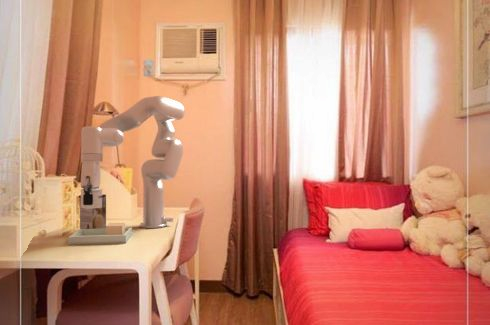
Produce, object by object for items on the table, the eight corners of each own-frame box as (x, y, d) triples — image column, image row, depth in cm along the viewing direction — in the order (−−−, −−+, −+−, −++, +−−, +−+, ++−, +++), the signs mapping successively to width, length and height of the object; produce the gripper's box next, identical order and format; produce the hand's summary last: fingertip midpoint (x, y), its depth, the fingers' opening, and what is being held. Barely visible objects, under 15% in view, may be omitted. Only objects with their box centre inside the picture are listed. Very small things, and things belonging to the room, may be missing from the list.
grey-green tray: (131, 234, 135) (131, 227, 135) (125, 243, 121) (125, 235, 121) (80, 236, 131) (80, 229, 131) (68, 245, 117) (68, 237, 117)
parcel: (125, 235, 131) (125, 222, 131) (122, 238, 125) (122, 225, 125) (109, 235, 129) (109, 223, 129) (105, 239, 124) (105, 226, 124)
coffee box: (93, 229, 144) (93, 193, 144) (106, 230, 143) (106, 194, 142) (79, 234, 135) (79, 196, 135) (92, 235, 134) (93, 196, 133)
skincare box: (86, 209, 121) (86, 189, 121) (80, 207, 125) (80, 188, 125) (102, 207, 125) (102, 188, 125) (96, 206, 130) (96, 187, 130)
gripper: (88, 158, 133) (87, 200, 133) (73, 158, 116) (73, 206, 116) (107, 158, 135) (107, 200, 135) (96, 158, 117) (95, 206, 117)
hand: (91, 203), depth 125 cm, fingers closed on skincare box, 8 cm apart
